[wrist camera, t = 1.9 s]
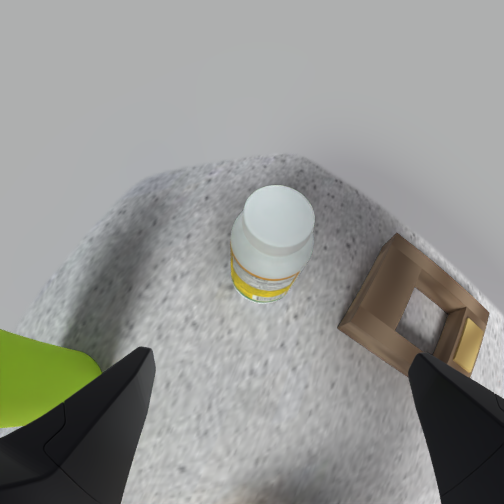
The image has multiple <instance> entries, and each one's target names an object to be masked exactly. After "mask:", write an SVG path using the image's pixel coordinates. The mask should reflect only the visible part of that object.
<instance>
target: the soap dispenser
mask: <svg viewBox="0 0 504 504" xmlns="http://www.w3.org/2000/svg"><path fill="white" fill-rule="evenodd" d="M101 374H102V372H101V370H100V368H99V366H98V365H97V363H96V362H95V361H94V360H93V359H92V358H91V357H90V356H88V355H87V354H85V353H83V352H80V351H76V350H71V349H67V348H63V347H59V346H55V345H51V344H47V343H44V342H40V341H36V340H33V339H29V338H26V337H23V336H20V335H16V334H13V333H10V332H7V331H4V330H1V329H0V428H7V427H17V426H25V425H27V424H28V423H30V422H32V421H34V420H36V419H37V418H39V417H41V416H42V415H44V414H45V413H47V412H48V411H50V410H51V409H53V408H54V407H56V406H57V405H59V404H60V403H61V402H64V400H66V399H67V398H69V397H70V396H71V395H73V394H74V393H76V392H77V391H78V390H80V389H81V388H83V387H84V386H85V385H87V384H88V383H90V382H91V381H92V380H94V379H95V378H96V377H98V376H99V375H101Z"/></svg>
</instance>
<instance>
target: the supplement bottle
mask: <svg viewBox="0 0 504 504" xmlns="http://www.w3.org/2000/svg"><path fill="white" fill-rule="evenodd" d="M314 224H315V215H314V211H313V208H312V206H311V204H310V202H309V201H308V200H307V199H306V197H305V196H303V195H302V194H301V193H299V192H298V191H296V190H294V189H292V188H290V187H287V186H282V185H270V186H265V187H262V188H260V189H258V190H256V191H255V192H253V193H252V194H251V195H250V196H249V198H248V199H247V201H246V203H245V206H244V210H243V211H242V212H241V213H240V215H239V216H238V217H237V219H236V220H235V222H234V224H233V227H232V231H231V238H230V247H231V278H232V282H233V285H234V287H235V289H236V290H237V291H238V293H239V294H240V295H242V296H243V297H244V298H245V299H247V300H249V301H251V302H255V303H260V304H267V303H272V302H275V301H278V300H280V299H281V298H283V297H284V296H285V295H286V294H287V293H288V292H289V290H290V289H291V287H292V286H293V284H294V283H295V281H296V280H297V278H298V276H299V275H300V273H301V272H302V270H303V269H304V267H305V266H306V264H307V263H308V261H309V259H310V257H311V255H312V252H313V247H314V236H313V232H312V231H313V228H314Z"/></svg>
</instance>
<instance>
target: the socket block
mask: <svg viewBox="0 0 504 504" xmlns="http://www.w3.org/2000/svg"><path fill="white" fill-rule="evenodd" d="M414 287H416V288H417V289H418V290H419V291H421V292H422V293H423V294H424V295H426V296H427V297H428V298H429V299H431V300H432V301H433V302H434V303H435V304H437V305H438V306H439V307H440V308H441V309H443V310H444V311H445V312H446V313H447V314H448V317H447V320H446V322H445V325H444V328H443V331H442V333H441V336H440V339H439V341H438V344H437V346H436V349H435V351H434V353H433V356H434V357H436V358H438V359H439V360H441V361H443V362H444V363H446V364H448V365H449V366H451V367H453V368H454V369H456V370H457V371H459V372H461V373H462V374H464V375H466V376H467V377H469V378H470V376H471V374H472V371H473V368H474V365H475V362H476V359H477V356H478V353H479V350H480V347H481V343H482V340H483V336H484V333H485V329H486V325H487V321H488V317H489V312H488V311H487V310H486V309H485V308H484V307H483V306H482V305H481V304H480V303H479V302H478V301H477V300H476V299H475V298H474V297H473V296H472V295H470V294H469V293H468V292H467V291H466V290H465V289H464V288H463V287H462V286H461V285H460V284H458V283H457V282H456V281H455V280H454V279H453V278H452V277H451V276H449V275H448V274H447V273H446V272H445V271H444V270H442V269H441V268H440V267H439V266H438V265H437V264H435V263H434V262H433V261H432V260H431V259H429V258H428V257H427V256H426V255H424V254H423V253H422V252H421V251H420V250H418V249H417V248H416V247H415V246H413V245H412V244H411V243H409V242H408V241H407V240H406V239H404V238H403V237H402V236H400V235H399V234H398V233H396V234H395V235H394V236H393V237H392V238H391V239H390V240H389V241H388V242H387V243H386V244H385V245H384V246H383V247H382V249H381V251H380V253H379V255H378V257H377V259H376V261H375V262H374V264H373V266H372V268H371V270H370V272H369V274H368V276H367V278H366V279H365V281H364V283H363V285H362V287H361V288H360V290H359V292H358V294H357V296H356V297H355V299H354V301H353V303H352V304H351V306H350V308H349V309H348V311H347V313H346V314H345V316H344V318H343V319H342V321H341V323H340V324H339V326H338V329H339V330H340V331H342V332H343V333H345V334H346V335H348V336H349V337H350V338H352V339H353V340H355V341H356V342H358V343H359V344H360V345H362V346H363V347H365V348H366V349H368V350H369V351H371V352H372V353H373V354H375V355H376V356H378V357H379V358H381V359H382V360H384V361H385V362H386V363H388V364H389V365H391V366H392V367H394V368H395V369H397V370H398V371H399V372H401V373H402V374H404V375H405V376H407V377H408V370H409V368H410V366H411V364H412V362H413V360H414V358H415V356H416V354H418V353H422V352H423V351H421V350H420V349H419V348H417V347H416V346H415V345H413V344H412V343H410V342H409V341H408V340H406V339H405V338H404V337H402V336H401V335H400V334H398V333H397V332H396V331H395V330H396V327H397V325H398V323H399V321H400V319H401V317H402V315H403V313H404V310H405V308H406V306H407V304H408V301H409V299H410V297H411V294H412V292H413V289H414Z"/></svg>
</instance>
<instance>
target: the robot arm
mask: <svg viewBox="0 0 504 504" xmlns="http://www.w3.org/2000/svg"><path fill="white" fill-rule="evenodd" d="M155 372H156V367H155V361H154V355H153V351H152V349H151V348H147V347H138V348H136V349H135V350H134V351H132V352H131V353H130V354H128V355H127V356H125V357H124V358H123V359H121V360H120V361H119V362H117V363H116V364H114V365H113V366H112V367H110V368H109V369H108V370H106V371H105V372H103V373H102V374H101V375H99V376H98V377H96V378H95V379H94V380H92V381H91V382H90V383H88V384H87V385H85V386H84V387H83V388H81V389H80V390H78V391H77V392H76V393H74V394H73V395H71V396H70V397H69V398H67V399H66V400H64V402H61V403H60V404H59V405H57V406H56V407H54V408H53V409H51V410H50V411H48V412H47V413H45V414H44V415H42V416H41V417H39V418H37V419H36V420H34V421H32V422H30V423H28V424H27V425H25V426H23V427H21V428H19V429H17V430H15V431H13V432H12V433H10V434H8V435H6V436H4V437H2V438H0V504H121V500H122V497H123V493H124V489H125V486H126V482H127V478H128V475H129V471H130V468H131V465H132V461H133V458H134V454H135V451H136V448H137V445H138V441H139V438H140V435H141V432H142V429H143V425H144V422H145V419H146V416H147V412H148V408H149V402H150V397H151V392H152V387H153V382H154V377H155ZM408 378H409V382H410V386H411V390H412V394H413V398H414V403H415V407H416V410H417V414H418V417H419V420H420V423H421V426H422V429H423V433H424V436H425V439H426V443H427V446H428V450H429V453H430V457H431V461H432V464H433V468H434V472H435V476H436V481H437V485H438V489H439V494H440V499H441V504H504V399H503V398H502V397H500V396H498V395H497V394H494V393H493V392H492V391H490V390H489V389H487V388H485V387H484V386H482V385H480V384H479V383H477V382H475V381H474V380H472V379H471V378H469V377H467V376H466V375H464V374H462V373H461V372H459V371H457V370H456V369H454V368H453V367H451V366H449V365H448V364H446V363H444V362H443V361H441V360H439V359H438V358H436V357H434V356H433V355H431V354H429V353H428V352H422V353H418V354H416V356H415V358H414V360H413V362H412V364H411V366H410V368H409V370H408Z"/></svg>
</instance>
